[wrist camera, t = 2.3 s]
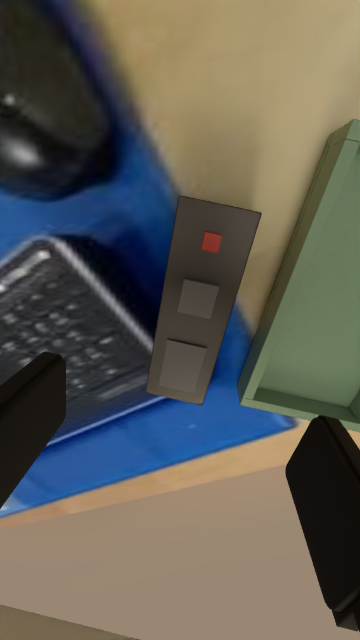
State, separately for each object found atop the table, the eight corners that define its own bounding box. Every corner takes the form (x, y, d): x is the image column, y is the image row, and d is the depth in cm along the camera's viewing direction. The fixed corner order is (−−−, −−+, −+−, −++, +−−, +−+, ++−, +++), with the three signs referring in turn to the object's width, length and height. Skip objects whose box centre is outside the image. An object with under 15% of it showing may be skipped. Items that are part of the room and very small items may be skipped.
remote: (184, 198, 16) (178, 194, 13) (252, 213, 16) (263, 212, 13) (153, 368, 22) (144, 395, 18) (203, 380, 22) (202, 408, 18)
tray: (330, 134, 14) (353, 118, 11) (508, 170, 13) (565, 161, 11) (236, 385, 21) (239, 405, 19) (348, 411, 21) (365, 433, 19)
